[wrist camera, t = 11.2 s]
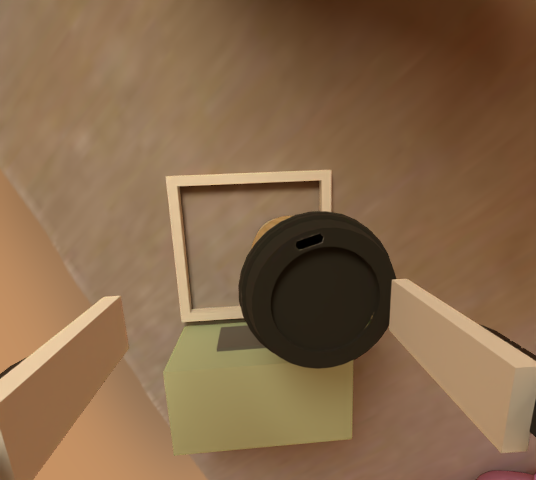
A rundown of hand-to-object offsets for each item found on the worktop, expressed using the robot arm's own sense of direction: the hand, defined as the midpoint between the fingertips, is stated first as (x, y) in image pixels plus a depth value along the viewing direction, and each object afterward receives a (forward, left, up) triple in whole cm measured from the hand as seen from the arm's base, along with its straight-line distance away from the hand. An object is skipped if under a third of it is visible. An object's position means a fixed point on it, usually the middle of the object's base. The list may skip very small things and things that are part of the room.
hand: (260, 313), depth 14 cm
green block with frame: (+5, 0, -17) cm, 18 cm away
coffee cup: (0, +3, -17) cm, 17 cm away
